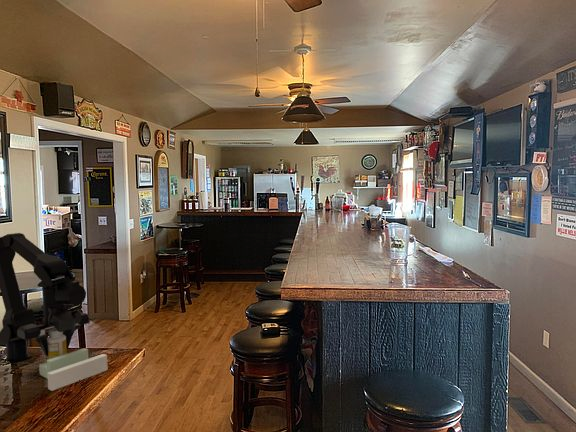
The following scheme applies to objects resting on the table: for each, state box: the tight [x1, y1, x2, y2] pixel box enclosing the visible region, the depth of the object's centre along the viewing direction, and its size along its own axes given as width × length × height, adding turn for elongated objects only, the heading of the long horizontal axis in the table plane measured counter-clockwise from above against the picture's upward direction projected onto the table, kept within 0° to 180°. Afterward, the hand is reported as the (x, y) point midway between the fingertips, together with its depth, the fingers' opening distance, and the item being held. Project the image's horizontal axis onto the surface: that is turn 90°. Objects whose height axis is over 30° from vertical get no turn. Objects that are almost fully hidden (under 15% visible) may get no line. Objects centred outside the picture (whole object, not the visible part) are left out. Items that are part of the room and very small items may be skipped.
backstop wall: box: [47, 353, 109, 392], centre depth 120 cm, size 2×16×4 cm, turn 143°
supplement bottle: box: [46, 328, 68, 361], centre depth 128 cm, size 5×5×10 cm
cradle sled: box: [38, 347, 90, 380], centre depth 125 cm, size 7×11×6 cm, turn 143°
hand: (56, 352), depth 128 cm, fingers closed on supplement bottle, 5 cm apart
